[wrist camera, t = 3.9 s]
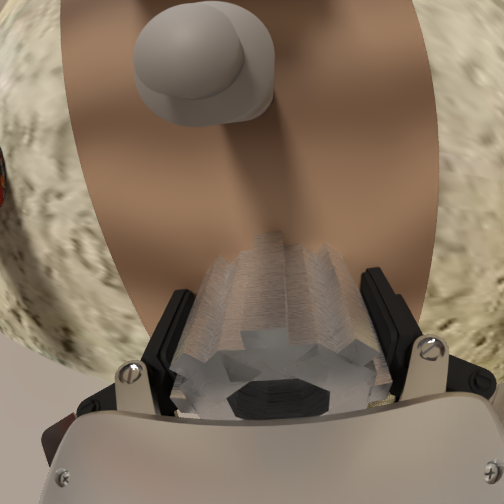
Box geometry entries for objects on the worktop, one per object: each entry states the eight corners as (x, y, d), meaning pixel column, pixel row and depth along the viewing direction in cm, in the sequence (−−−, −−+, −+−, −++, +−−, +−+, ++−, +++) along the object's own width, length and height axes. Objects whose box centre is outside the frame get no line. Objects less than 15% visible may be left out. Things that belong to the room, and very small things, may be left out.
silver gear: (181, 244, 11) (128, 334, 6) (358, 221, 10) (413, 307, 5) (222, 359, 14) (206, 443, 9) (352, 347, 13) (371, 432, 8)
